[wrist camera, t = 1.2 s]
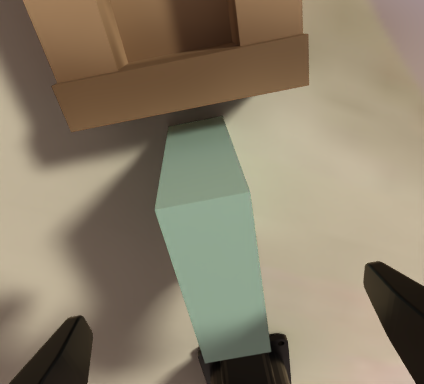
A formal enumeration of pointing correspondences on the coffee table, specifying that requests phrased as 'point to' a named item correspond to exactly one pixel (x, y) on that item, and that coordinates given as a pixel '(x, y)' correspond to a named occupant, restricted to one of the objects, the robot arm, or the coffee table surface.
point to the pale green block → (212, 239)
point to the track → (166, 54)
